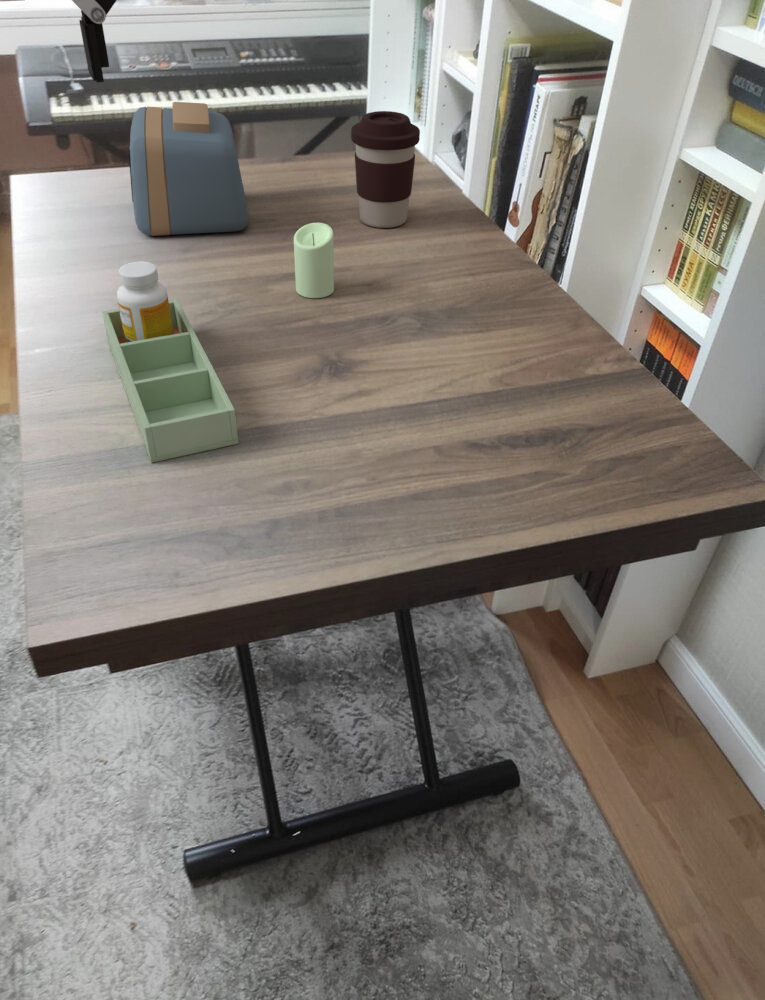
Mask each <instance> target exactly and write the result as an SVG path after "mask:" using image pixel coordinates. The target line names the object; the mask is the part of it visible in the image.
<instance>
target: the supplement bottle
mask: <svg viewBox="0 0 765 1000" xmlns="http://www.w3.org/2000/svg"><path fill="white" fill-rule="evenodd" d="M118 275H119V276H118V277H119V282H120V284H121V285H120V286H119V287H118V289H117V292H116V299H117V305H118V309H119V310H120V316H121V321H122V326H123V331H124V336H125V341H126V343H127V342H133V341H139V340H145V339H150V338H156V337H162V336H168V335H173V334H174V333H173V327H172V321H171V315H170V308H169V302H168V301H169V296H168V291H167V289H166V287H165V285H164V284H163V283H162V282H161V281H159V273H158V268H157V265H155V264H154V263H152V262H149V261H141V260H140V261H131V262H128V263H125V264H123V265H122V266H120V268H119V269H118Z"/></svg>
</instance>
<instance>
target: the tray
mask: <svg viewBox="0 0 765 1000" xmlns="http://www.w3.org/2000/svg"><path fill="white" fill-rule="evenodd" d="M168 302H169V308H170V315H171V321H172V327H173V333H174V334H173V335H168V336H162V337H156V338H150V339H145V340H139V341H133V342H127V343H126V341H125V336H124V331H123V326H122V321H121V316H120V310H119V308H116V309H111V310H103V311H102V312H101V315H102V319H103V323H104V328H105V333H106V338H107V343H108V345H109V348H110V351H111V354H112V356H113V359H114V362H115V365H116V368H117V371H118V374H119V376H120V379H121V382H122V385H123V388H124V391H125V393H126V396H127V400H128V402H129V405H130V407H131V410H132V413H133V417H134V418H135V421H136V425H137V427H138V430H139V433H140V436H141V438H142V442H143V444H144V447H145V450H146V452H147V455H148V458H149V461H150V463H151V464H152V463H157V462H162V461H166V460H171V459H175V458H180V457H185V456H189V455H193V454H198V453H202V452H206V451H212V450H215V449H221V448H225V447H230V446H234V445H238V444H239V436H238V435H239V433H238V425H237V417H236V415H237V414H236V409H235V407H234V405H233V404H232V401H231V400H230V397H229V395H228V394H227V391H226V390H225V388H224V386H223V384H222V382H221V380H220V379H219V376H218V374H217V372H216V371H215V369H214V366H213V365H212V362H211V361H210V359H209V357H208V355H207V353H206V351H205V349H204V348H203V346H202V343H201V342H200V340H199V337H198V336H197V334H196V332H195V330H194V328H193V326H192V324H191V323H190V320H189V319H188V316H187V315H186V313H185V311H184V309H183V307H182V304H181V303H180V301H179V300H178V299H173V300H168Z"/></svg>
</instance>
